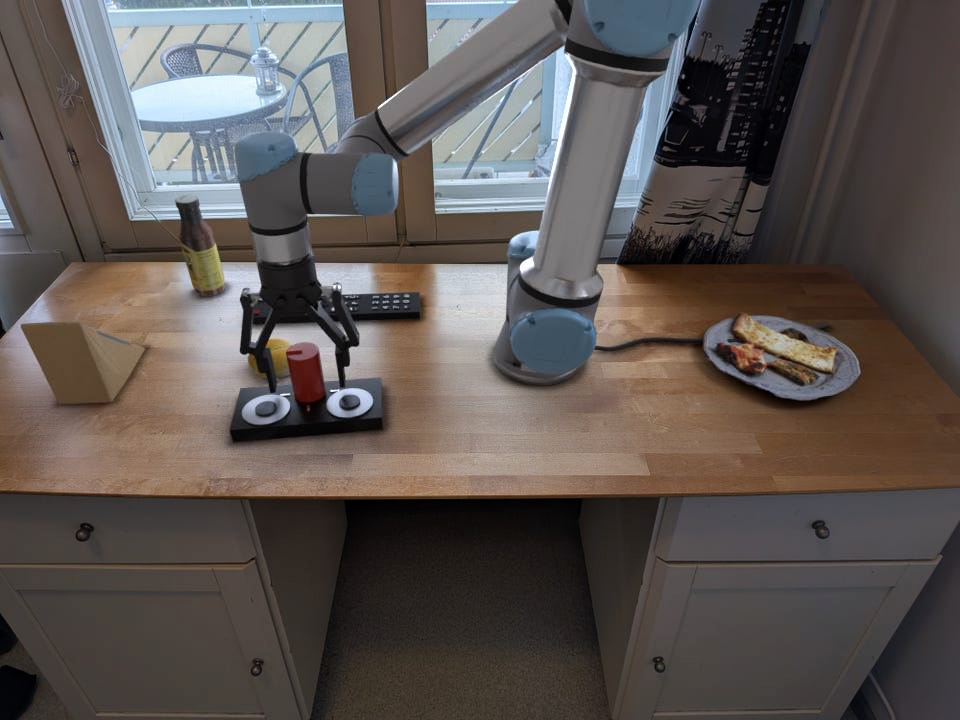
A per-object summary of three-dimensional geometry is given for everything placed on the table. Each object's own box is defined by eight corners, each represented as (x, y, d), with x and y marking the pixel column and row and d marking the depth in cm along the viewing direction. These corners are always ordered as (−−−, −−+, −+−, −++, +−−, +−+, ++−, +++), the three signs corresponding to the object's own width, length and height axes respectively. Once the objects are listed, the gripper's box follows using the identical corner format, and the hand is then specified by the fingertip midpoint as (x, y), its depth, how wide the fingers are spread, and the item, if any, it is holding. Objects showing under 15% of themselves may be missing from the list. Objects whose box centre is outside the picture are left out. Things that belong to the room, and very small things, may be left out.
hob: (382, 383, 107) (380, 370, 106) (383, 429, 98) (381, 416, 96) (245, 393, 105) (241, 380, 103) (232, 442, 95) (228, 429, 94)
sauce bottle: (195, 285, 134) (169, 192, 122) (227, 281, 135) (204, 189, 123) (193, 300, 128) (166, 205, 117) (227, 296, 130) (203, 201, 118)
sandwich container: (147, 347, 115) (121, 272, 106) (113, 402, 103) (80, 322, 94) (97, 349, 115) (66, 273, 106) (57, 404, 102) (18, 324, 93)
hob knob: (326, 382, 103) (319, 339, 98) (325, 401, 99) (317, 357, 94) (295, 384, 103) (287, 341, 98) (292, 404, 99) (283, 359, 94)
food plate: (676, 359, 113) (680, 343, 111) (739, 311, 127) (743, 295, 125) (820, 427, 99) (827, 409, 97) (873, 364, 113) (881, 347, 111)
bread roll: (266, 387, 106) (262, 367, 104) (243, 363, 112) (238, 343, 109) (312, 368, 111) (308, 348, 108) (287, 345, 116) (283, 326, 114)
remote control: (257, 303, 128) (255, 295, 127) (419, 298, 130) (419, 289, 129) (249, 324, 122) (247, 315, 120) (420, 318, 124) (419, 309, 123)
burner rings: (372, 388, 102) (372, 385, 102) (373, 416, 97) (372, 413, 96) (246, 397, 100) (245, 394, 100) (238, 428, 94) (237, 424, 94)
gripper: (368, 237, 91) (381, 365, 104) (203, 245, 89) (237, 375, 102) (368, 261, 85) (381, 394, 98) (191, 271, 83) (229, 406, 96)
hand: (308, 384), depth 100 cm, fingers open, 10 cm apart
